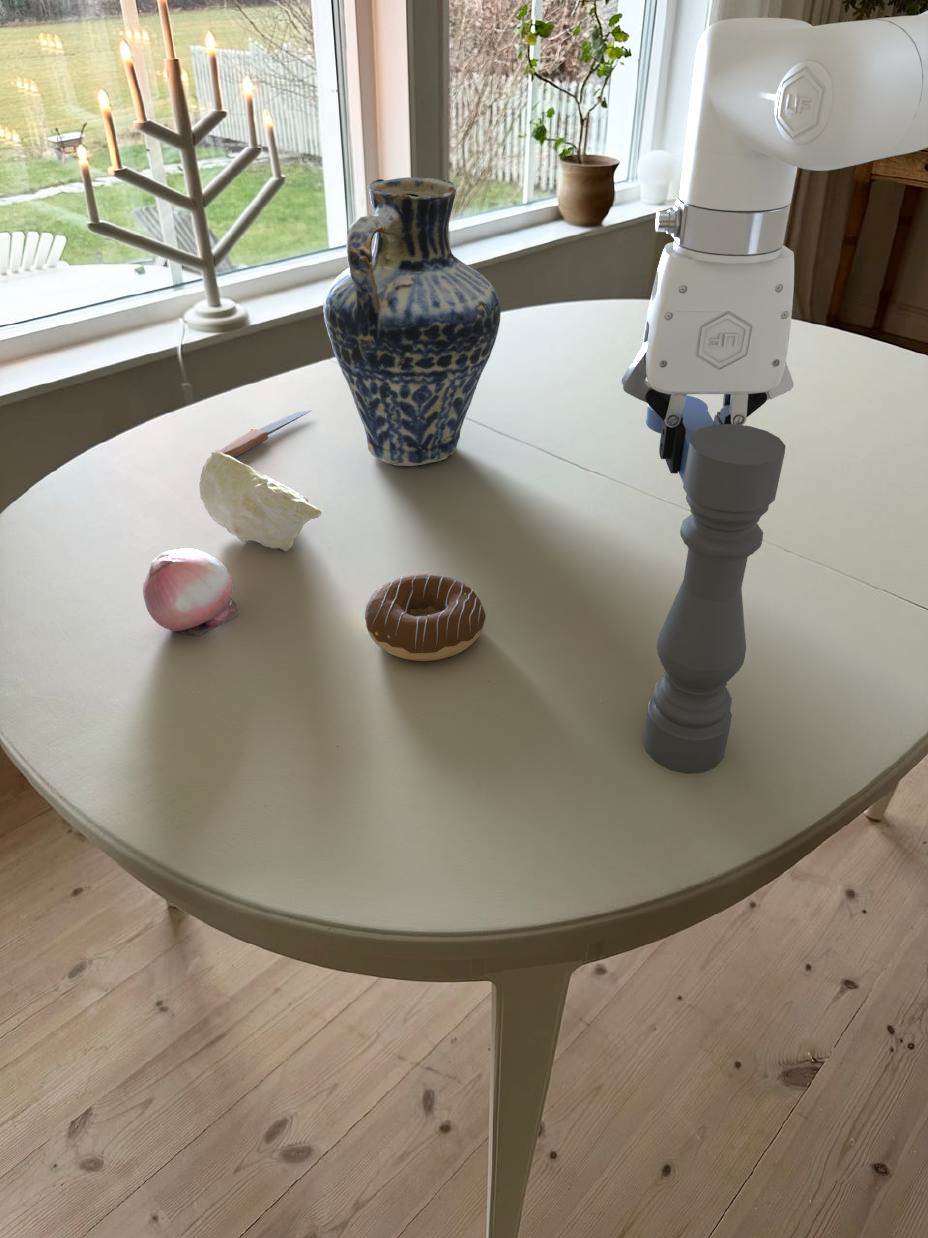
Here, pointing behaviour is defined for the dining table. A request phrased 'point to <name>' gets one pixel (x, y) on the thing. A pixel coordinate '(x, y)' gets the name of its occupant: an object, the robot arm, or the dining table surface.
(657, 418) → the spoon
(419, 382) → the jug
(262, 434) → the knife
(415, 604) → the donut
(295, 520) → the cheese
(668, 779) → the dining table surface
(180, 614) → the onion
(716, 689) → the candle holder
